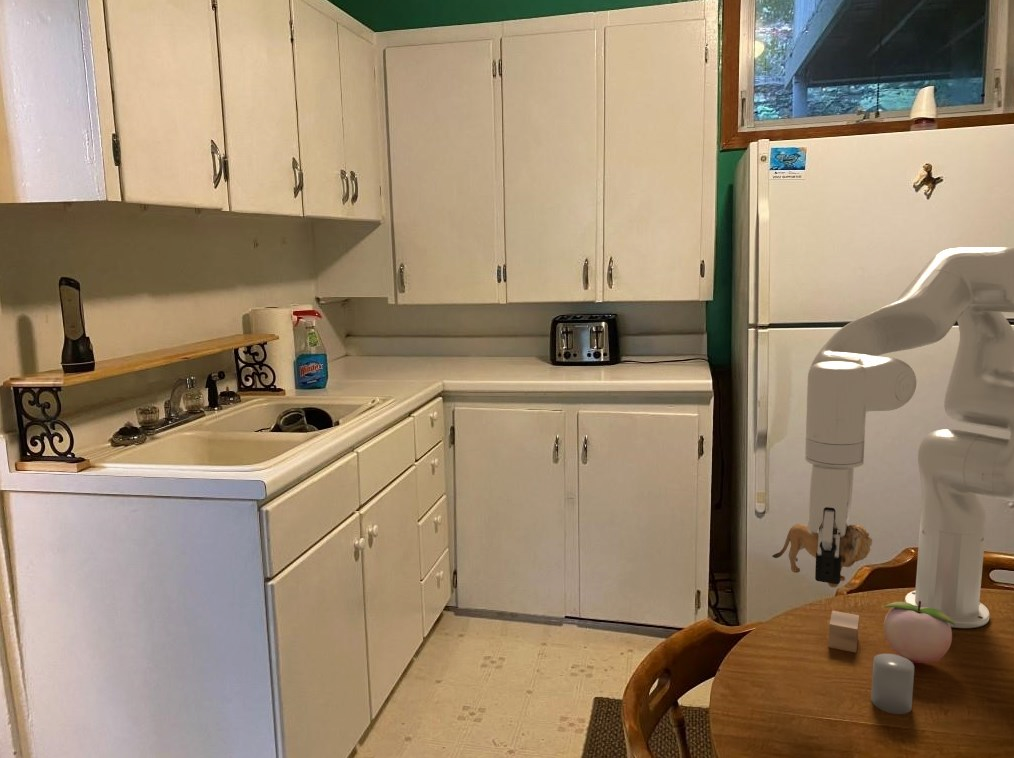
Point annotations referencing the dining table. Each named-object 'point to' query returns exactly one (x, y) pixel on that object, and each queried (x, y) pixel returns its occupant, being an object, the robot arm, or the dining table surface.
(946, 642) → the decorative fruit
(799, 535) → the lion figurine
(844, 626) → the pale beige block
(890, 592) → the dining table surface
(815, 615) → the dining table surface
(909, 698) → the light grey cylinder
